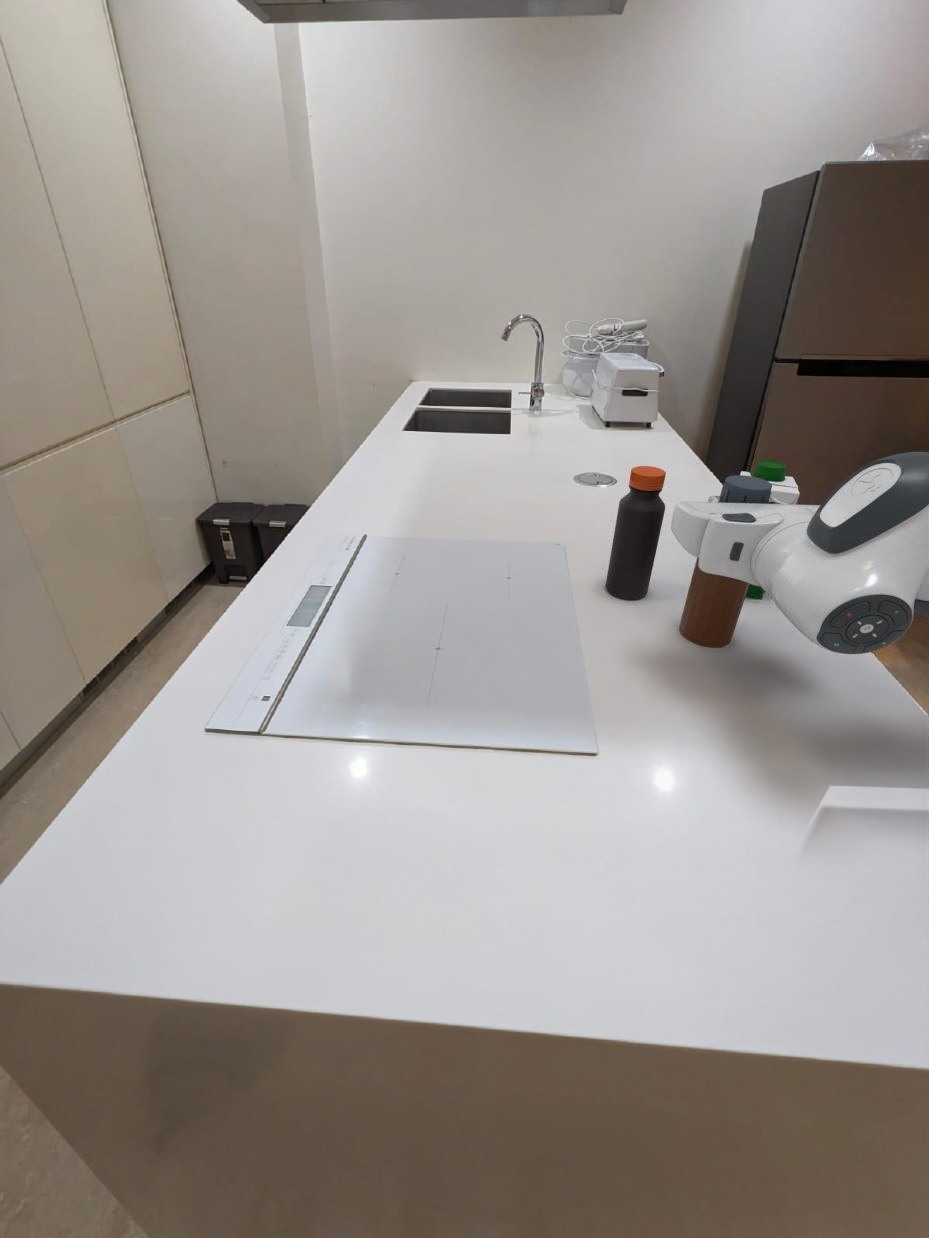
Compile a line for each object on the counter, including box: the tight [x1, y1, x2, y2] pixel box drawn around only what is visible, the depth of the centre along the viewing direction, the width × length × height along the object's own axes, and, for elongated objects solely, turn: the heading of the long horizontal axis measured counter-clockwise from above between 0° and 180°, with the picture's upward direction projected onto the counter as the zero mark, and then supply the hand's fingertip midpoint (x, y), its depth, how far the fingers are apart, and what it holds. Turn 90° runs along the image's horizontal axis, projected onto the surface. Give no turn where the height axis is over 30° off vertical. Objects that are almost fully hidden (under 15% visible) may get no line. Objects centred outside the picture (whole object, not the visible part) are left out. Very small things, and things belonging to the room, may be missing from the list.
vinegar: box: [605, 465, 667, 600], centre depth 90 cm, size 7×7×20 cm
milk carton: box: [739, 459, 801, 600], centre depth 92 cm, size 9×9×20 cm
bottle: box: [679, 557, 750, 648], centre depth 79 cm, size 7×7×22 cm
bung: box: [719, 474, 772, 504], centre depth 75 cm, size 5×5×8 cm
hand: (739, 502), depth 75 cm, fingers closed on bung, 5 cm apart
